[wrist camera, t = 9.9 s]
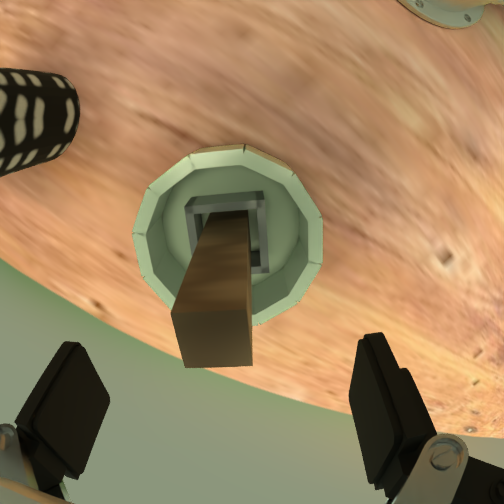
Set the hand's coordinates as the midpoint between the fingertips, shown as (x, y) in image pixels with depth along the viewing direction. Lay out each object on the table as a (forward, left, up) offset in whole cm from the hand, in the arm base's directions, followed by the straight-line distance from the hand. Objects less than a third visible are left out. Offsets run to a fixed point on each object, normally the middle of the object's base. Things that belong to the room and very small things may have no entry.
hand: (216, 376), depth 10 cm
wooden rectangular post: (0, +1, -17) cm, 17 cm away
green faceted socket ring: (+1, +1, -17) cm, 17 cm away
